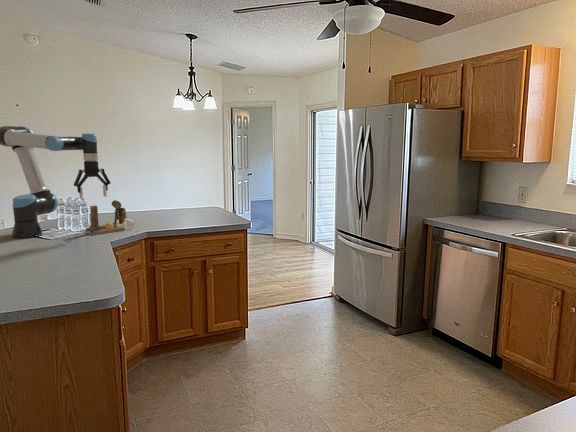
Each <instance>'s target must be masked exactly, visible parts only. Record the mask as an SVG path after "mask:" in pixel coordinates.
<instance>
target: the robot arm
mask: <svg viewBox="0 0 576 432" xmlns="http://www.w3.org/2000/svg"><path fill="white" fill-rule="evenodd" d="M0 145H1V146H3V147H9V148H11V150H12V152H14V153H16V155H17V158H18V160H19V164H20V166H21V169H22V172H23V175H24V177H25V181H26V183H27V185H28V186H27V187H28V189H29V191H30V192H29V193H25V194H20V195H17V196H15V197H14V198H13V199H12V209H13V221H14V224H13V228H12V231H11V234H12V236H11V237H12V238H14V239H28V238H27V237H31V238H34V237H33V236H36V235H39V234H42V235H43V230H42V228H41V225H40V223H39V221H38V219H39V218H38V216H41V215H46V214H47V215H48V214H51V213H53V212H55V211H57V208H58V206H59V200H58V197H57V196H56V195H55V194H53V193H51V189H49V188H47V187H46V184H45V181H44V179H43V175H42V173H41V170H40V167H39V163H38V162H37V157H36V156H35V153H34V148H36V149H43V150H49V151H52V152H59V151H82V153H83V155H82V156H83V167H84V168H83V169H78V174H77V176H76V178H75V180H74V183H73V186H74V187H76V188H77V190H76V191H77V193H78V194H79V199H84V196H83V187H82V185H83V184H84V183H85V181H86V180H87V179H88V178H93V177H94V178H95V177H96V178H97V179H98V180H99V181H100V182H102V191H103V197H108V195H107V191H109V190H108V189H109V188H108V185H111V181H110V179H109V177H108V175H107V174H106V171H105V169H104V168H100V169H99V161H98V160H99V156H98V140H97V134H96V133H82V134H81V136H55V135H54V136H53V135H48V134H47V135H46V134H37V133H35V132H34V131H33V129H31V128H29V127H27V126H15V125H13V126H11V125H9V126H8V125H7V126H6V125H4V126H0ZM99 173H101V175H102V176H101V175H100V174H99ZM83 174H84V175H83ZM82 176H83V177H82Z"/></svg>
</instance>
